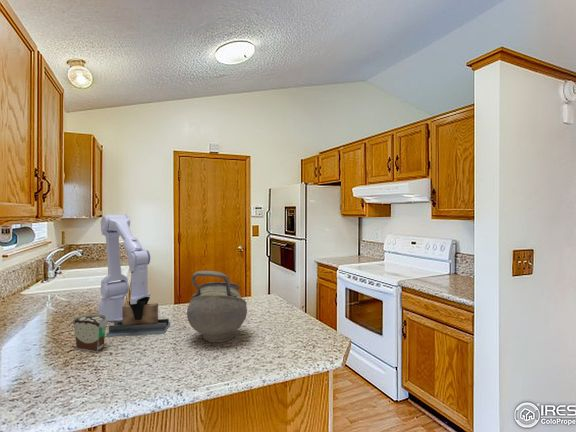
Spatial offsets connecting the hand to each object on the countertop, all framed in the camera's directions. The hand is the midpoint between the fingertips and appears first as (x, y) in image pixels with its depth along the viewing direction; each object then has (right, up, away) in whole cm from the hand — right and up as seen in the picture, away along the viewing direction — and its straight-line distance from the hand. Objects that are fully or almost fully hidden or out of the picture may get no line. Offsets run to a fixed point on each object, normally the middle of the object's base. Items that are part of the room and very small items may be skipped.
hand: (139, 318), depth 124 cm
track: (0, -5, 0) cm, 5 cm away
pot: (+31, -5, -9) cm, 33 cm away
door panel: (0, -3, 0) cm, 3 cm away
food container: (-8, -5, -15) cm, 18 cm away
